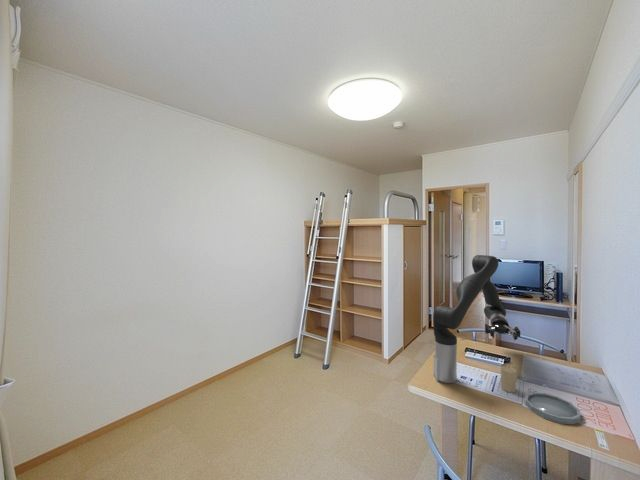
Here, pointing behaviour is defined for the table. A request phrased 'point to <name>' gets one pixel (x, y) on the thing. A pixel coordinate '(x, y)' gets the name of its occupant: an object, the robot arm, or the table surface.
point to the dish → (553, 408)
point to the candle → (508, 378)
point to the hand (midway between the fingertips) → (504, 336)
